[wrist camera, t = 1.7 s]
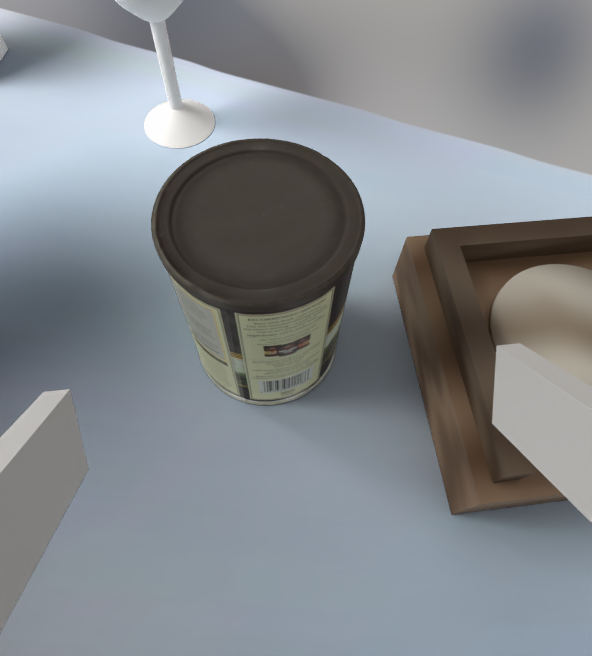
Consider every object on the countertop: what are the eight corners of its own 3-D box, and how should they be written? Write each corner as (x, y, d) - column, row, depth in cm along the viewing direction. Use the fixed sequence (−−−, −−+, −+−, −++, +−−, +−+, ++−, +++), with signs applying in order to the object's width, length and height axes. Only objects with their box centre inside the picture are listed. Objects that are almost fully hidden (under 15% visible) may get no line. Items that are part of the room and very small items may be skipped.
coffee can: (272, 258, 39) (267, 108, 27) (364, 343, 36) (409, 218, 23) (167, 335, 36) (107, 205, 23) (259, 437, 33) (246, 350, 20)
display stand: (715, 481, 32) (820, 458, 26) (451, 514, 31) (495, 499, 24) (604, 257, 40) (664, 199, 34) (392, 276, 39) (413, 218, 32)
